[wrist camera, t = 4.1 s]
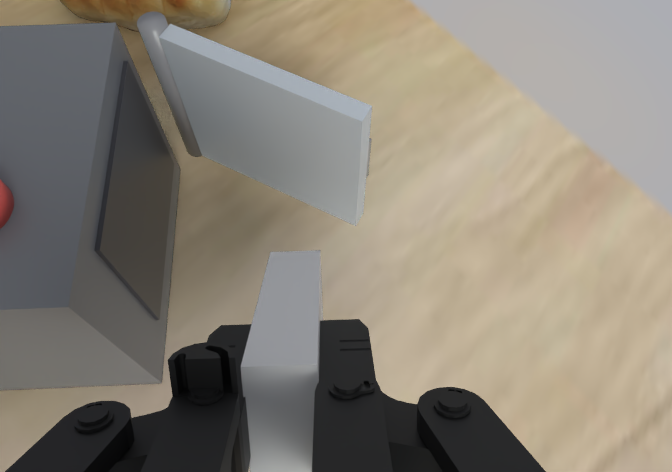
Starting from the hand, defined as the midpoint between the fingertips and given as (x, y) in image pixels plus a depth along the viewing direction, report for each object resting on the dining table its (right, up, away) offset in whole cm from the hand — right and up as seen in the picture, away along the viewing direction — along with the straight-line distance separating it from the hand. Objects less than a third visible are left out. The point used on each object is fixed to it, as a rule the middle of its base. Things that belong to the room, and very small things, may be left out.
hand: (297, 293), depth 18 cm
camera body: (-11, 0, +7) cm, 13 cm away
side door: (-2, +4, +8) cm, 10 cm away
